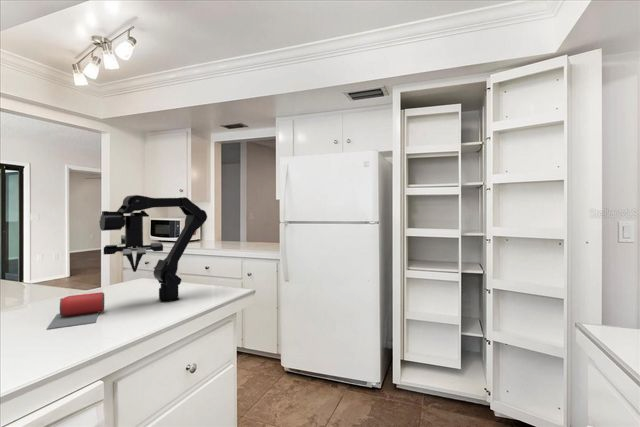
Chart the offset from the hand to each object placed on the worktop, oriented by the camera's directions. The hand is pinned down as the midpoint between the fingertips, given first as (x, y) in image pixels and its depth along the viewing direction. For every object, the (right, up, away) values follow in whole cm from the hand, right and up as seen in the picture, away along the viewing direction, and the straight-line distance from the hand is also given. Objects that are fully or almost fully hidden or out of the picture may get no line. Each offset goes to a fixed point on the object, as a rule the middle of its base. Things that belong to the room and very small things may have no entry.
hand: (134, 271), depth 120 cm
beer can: (-7, -9, -6) cm, 13 cm away
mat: (-12, -13, -14) cm, 22 cm away
